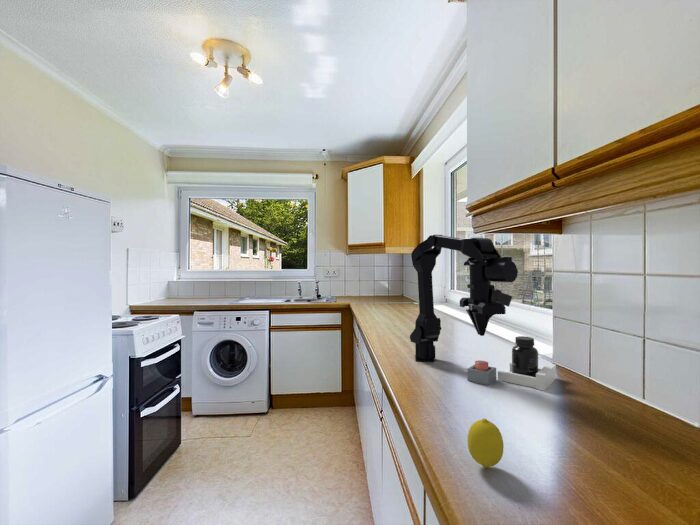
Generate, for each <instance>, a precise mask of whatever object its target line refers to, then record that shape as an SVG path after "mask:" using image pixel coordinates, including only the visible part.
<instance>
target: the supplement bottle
mask: <svg viewBox="0 0 700 525" xmlns="http://www.w3.org/2000/svg"><path fill="white" fill-rule="evenodd" d="M514 344H515V345H514V346H513V347H512V348H511V363H512V372H511V373H516V374H521V375H526V376H532V377H536V373H537V372H538V367H539V351H538V349H537V348H536V347H534V346H535V338H534V337H530V336H521V335H520V336H516V337H515V343H514Z"/></svg>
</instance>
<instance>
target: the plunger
mask: <svg viewBox="0 0 700 525" xmlns="http://www.w3.org/2000/svg"><path fill="white" fill-rule="evenodd" d="M474 365H475V369H476V370H481V371H488V366H489V362H488V361H485V360H474Z"/></svg>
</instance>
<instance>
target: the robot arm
mask: <svg viewBox="0 0 700 525" xmlns="http://www.w3.org/2000/svg"><path fill="white" fill-rule="evenodd" d="M442 249H448V250H453V251H458V252H461V254H462V255H464V256H467V257H468V259H467V260H465V262H463V266H469V284H467V285H466V286H467V289H468V288H469V296H468V297H462V298H461V299H459V307H461V308H465V307H468V309H467V308H466V309H465V311H466V312H467V315H468V316H469V318H470V320H471V323H472V324H473V326H474V328H475V330H476V333H477V335H479V336H480V337H483V336H485V334H486V331H487V327H488V324H489V321H490V319H491V318H492V317H493V316H496V315H506V313H507V312H506V311H507V310H506V307H510V305H511V302H512V299H513V295H510V294H508V293H504V292H502V290H501V289H498V288H496V287H495V285H494V284H492V282H494V283H497V282H498V283H514V281H516V279H517V278H518V274H519V271H518V268H517V265H516V263H515V262H514V261H513V257H512V256H501V255H500V253H499V252H498V250H497V248H496V247H495V245H494V242H493V240H492V239H491V238H488V237H487V238H486V237H466V238H465V237H464V238H461V237H460V238H459V237H453V236H448V235H443V234H431V235H429V236H428V237H427V238H426V239H425V240H423V241H422V242H420V243H419V244H417V246H416V247H414V249H413V250H412V251H411V254H410V255H411V256H410V257H411V262H412V263H411V264H412V267H413V268H414V269H415V271H416V272H417V285H418V286H417V289H418V290H417V292H418V306H419V313H418V316H417V317H416V320H415V322H414V323H415V326H414V329H413V331H412V332H411V333H410V335H409V340H410V342H411V343H413V344H414V347H415V348H414V349H415V350H414V351H415V354H414V360H415V361H416V362H417V361H418V362H435V359H436V345H435V344H434V342H435V343H436V342H438V341H439V339H440V338H439V336H440V335H441V331H442V327H441V323H442V322H441V321H442V320H441V318H440V317H437V315H436V314H435V309H434V307H435V306H434V290H433V289H434V288H433V271H434V268H435V267H436V266H437V257H439V256H440V255H441V253H442Z"/></svg>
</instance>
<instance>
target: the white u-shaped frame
mask: <svg viewBox="0 0 700 525" xmlns="http://www.w3.org/2000/svg"><path fill="white" fill-rule="evenodd" d="M556 379H557V364H554V363H547V364H546V365H545V366H543V367H539V366H538V372H537V373H536V377H532V376H526V375H521V374H516V373H512V362H510V363H509V371H505V370H498V371H497V381H501V382H507V383H511V384H515V385H516V384H517V385H520V386H524V387H529V388H535V389H536V390H540V391H546V390H547V389H549V388H548V387H550V385H551V384H552V383H553V382H554V381H555V380H556Z"/></svg>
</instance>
